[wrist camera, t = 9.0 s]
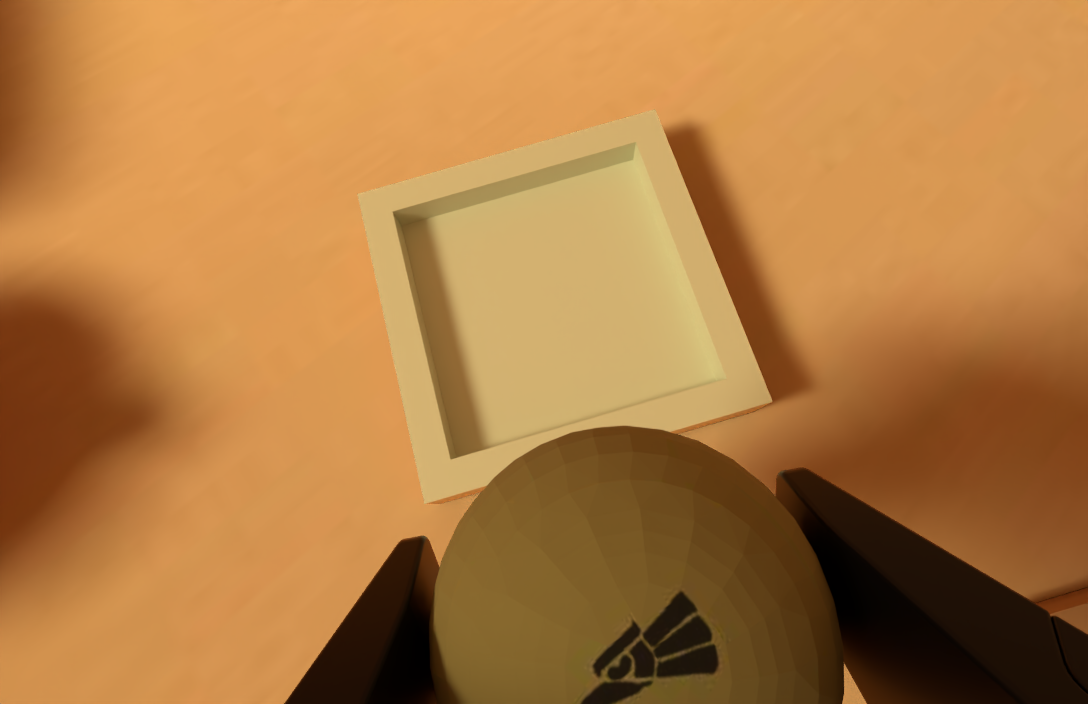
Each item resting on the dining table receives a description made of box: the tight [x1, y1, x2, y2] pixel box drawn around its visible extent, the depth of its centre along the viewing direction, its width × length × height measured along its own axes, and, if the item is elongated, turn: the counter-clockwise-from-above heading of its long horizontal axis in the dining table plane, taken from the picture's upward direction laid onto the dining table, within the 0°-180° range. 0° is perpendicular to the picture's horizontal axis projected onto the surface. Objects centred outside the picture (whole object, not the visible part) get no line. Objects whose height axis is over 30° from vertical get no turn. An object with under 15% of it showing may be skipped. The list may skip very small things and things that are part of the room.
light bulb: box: [429, 426, 844, 704], centre depth 10 cm, size 6×6×10 cm
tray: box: [357, 109, 773, 504], centre depth 22 cm, size 12×12×2 cm
